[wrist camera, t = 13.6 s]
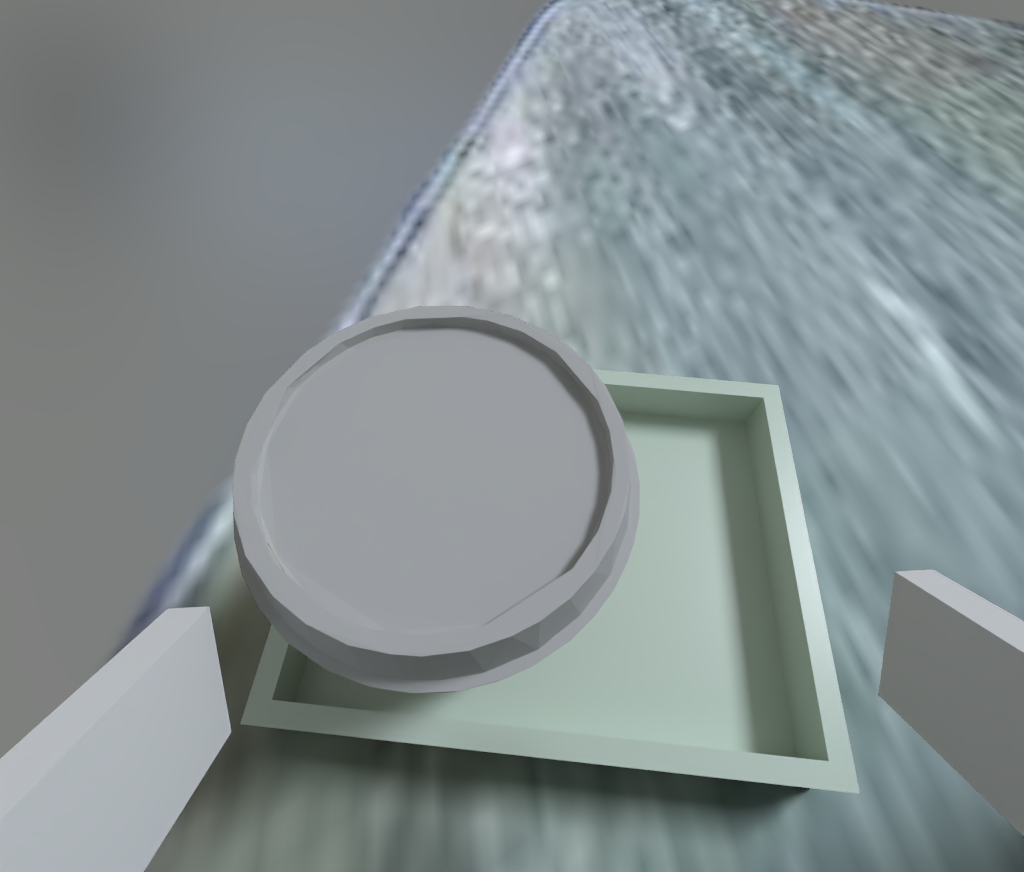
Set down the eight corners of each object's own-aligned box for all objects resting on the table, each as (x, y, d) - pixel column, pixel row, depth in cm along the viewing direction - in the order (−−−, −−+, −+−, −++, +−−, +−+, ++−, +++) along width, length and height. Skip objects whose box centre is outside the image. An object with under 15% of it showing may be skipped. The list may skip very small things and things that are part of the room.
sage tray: (752, 419, 27) (778, 385, 25) (812, 788, 19) (859, 793, 17) (371, 385, 28) (358, 348, 26) (273, 727, 20) (239, 724, 17)
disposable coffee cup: (451, 450, 25) (417, 243, 15) (623, 568, 23) (727, 413, 12) (298, 614, 21) (110, 485, 11) (484, 783, 19) (466, 822, 8)
